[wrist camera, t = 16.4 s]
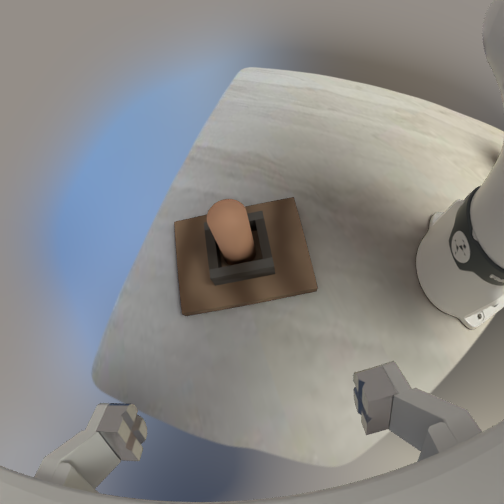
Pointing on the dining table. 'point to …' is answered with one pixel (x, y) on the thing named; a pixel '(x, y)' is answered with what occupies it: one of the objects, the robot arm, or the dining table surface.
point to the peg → (232, 231)
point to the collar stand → (249, 273)
